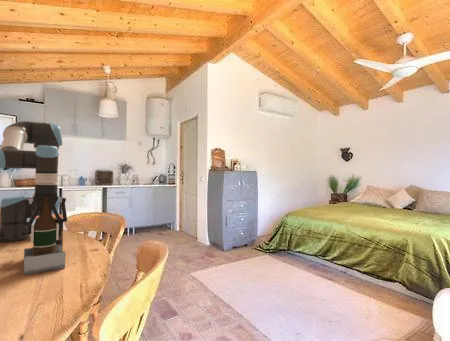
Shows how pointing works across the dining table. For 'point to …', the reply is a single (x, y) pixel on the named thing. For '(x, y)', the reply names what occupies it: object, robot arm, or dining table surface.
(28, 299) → the dining table surface
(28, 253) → the bracket
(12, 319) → the dining table surface
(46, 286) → the dining table surface
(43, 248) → the beer bottle
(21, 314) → the dining table surface
